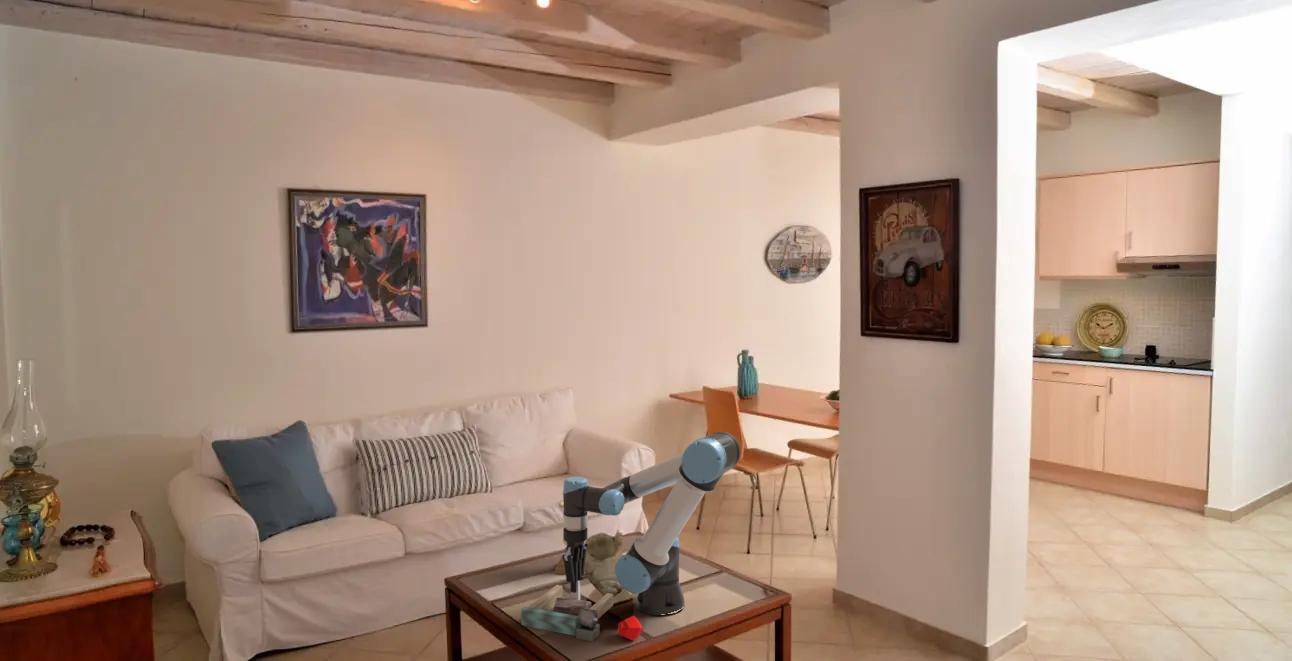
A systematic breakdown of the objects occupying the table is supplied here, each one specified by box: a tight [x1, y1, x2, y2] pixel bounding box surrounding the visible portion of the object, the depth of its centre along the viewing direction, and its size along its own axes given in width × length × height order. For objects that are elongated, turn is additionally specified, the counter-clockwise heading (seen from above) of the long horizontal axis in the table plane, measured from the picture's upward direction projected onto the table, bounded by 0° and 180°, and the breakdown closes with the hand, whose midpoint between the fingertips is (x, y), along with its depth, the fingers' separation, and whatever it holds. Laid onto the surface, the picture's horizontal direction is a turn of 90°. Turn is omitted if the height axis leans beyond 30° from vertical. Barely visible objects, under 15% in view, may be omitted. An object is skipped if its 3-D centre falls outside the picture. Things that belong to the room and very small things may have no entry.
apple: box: [617, 615, 644, 641], centre depth 238 cm, size 7×7×8 cm
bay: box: [520, 584, 614, 637], centre depth 254 cm, size 20×24×5 cm
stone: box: [552, 597, 593, 616], centre depth 254 cm, size 9×12×5 cm
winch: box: [575, 608, 601, 642], centre depth 239 cm, size 6×5×8 cm
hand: (575, 600), depth 260 cm, fingers closed
